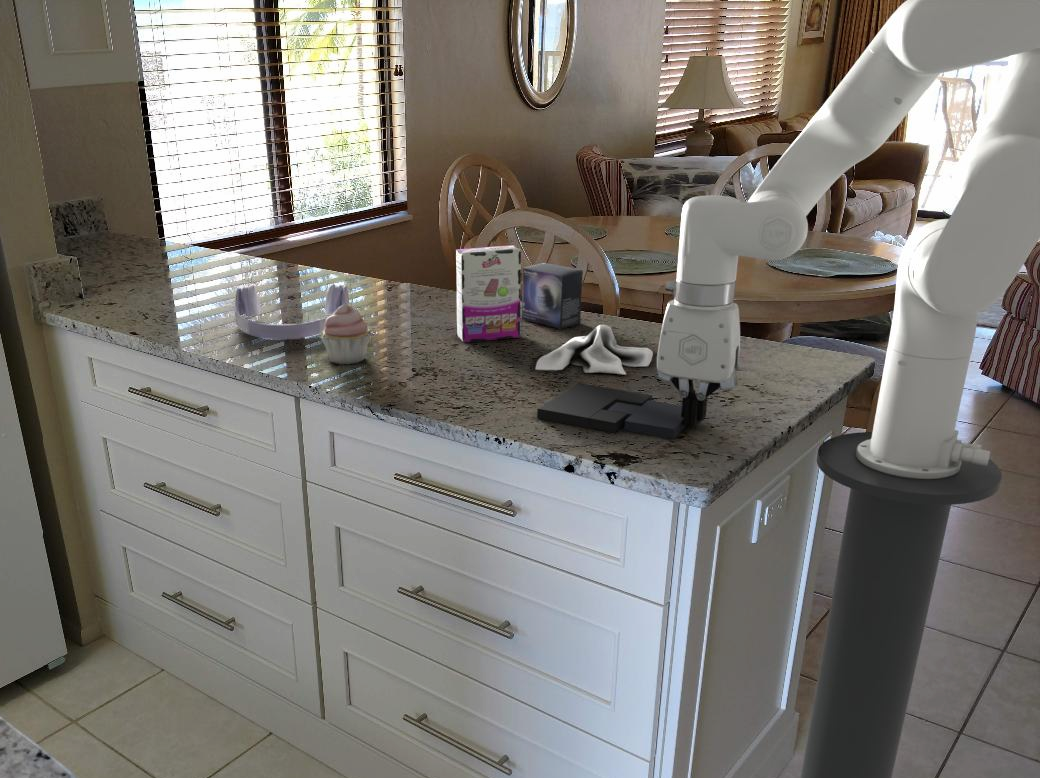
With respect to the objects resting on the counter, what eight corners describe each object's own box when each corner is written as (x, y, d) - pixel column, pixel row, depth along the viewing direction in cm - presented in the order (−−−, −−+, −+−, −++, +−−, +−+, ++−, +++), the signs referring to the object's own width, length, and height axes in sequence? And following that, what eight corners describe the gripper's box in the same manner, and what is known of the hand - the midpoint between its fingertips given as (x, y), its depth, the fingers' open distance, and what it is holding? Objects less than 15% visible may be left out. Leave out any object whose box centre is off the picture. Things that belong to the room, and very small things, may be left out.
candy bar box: (512, 331, 188) (514, 244, 182) (520, 338, 184) (522, 249, 177) (455, 336, 186) (455, 248, 180) (461, 343, 182) (462, 252, 175)
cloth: (589, 337, 183) (591, 304, 181) (676, 357, 170) (679, 321, 168) (509, 363, 170) (509, 327, 167) (597, 386, 157) (599, 348, 154)
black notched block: (651, 404, 148) (652, 395, 148) (614, 433, 138) (615, 422, 137) (577, 391, 155) (578, 382, 154) (536, 418, 144) (537, 408, 143)
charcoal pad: (694, 417, 143) (695, 407, 142) (673, 439, 135) (674, 429, 135) (623, 405, 148) (623, 396, 148) (598, 426, 140) (599, 416, 140)
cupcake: (335, 370, 168) (332, 312, 164) (311, 358, 175) (308, 302, 171) (383, 361, 172) (381, 304, 168) (358, 349, 179) (355, 294, 175)
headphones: (243, 313, 206) (224, 345, 188) (239, 279, 202) (220, 309, 185) (350, 312, 205) (341, 344, 187) (348, 278, 201) (339, 308, 184)
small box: (518, 319, 196) (520, 266, 192) (541, 314, 200) (543, 261, 196) (559, 329, 189) (561, 274, 185) (581, 323, 193) (584, 269, 188)
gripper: (640, 293, 132) (631, 423, 139) (754, 305, 124) (738, 441, 131) (660, 282, 138) (650, 407, 145) (770, 293, 130) (754, 424, 137)
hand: (692, 423), depth 138 cm, fingers closed
